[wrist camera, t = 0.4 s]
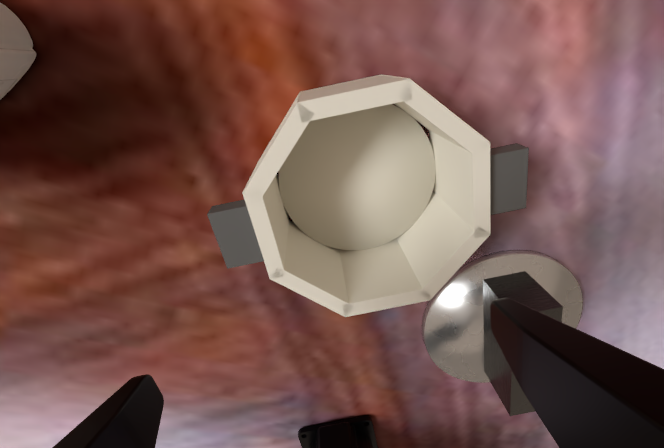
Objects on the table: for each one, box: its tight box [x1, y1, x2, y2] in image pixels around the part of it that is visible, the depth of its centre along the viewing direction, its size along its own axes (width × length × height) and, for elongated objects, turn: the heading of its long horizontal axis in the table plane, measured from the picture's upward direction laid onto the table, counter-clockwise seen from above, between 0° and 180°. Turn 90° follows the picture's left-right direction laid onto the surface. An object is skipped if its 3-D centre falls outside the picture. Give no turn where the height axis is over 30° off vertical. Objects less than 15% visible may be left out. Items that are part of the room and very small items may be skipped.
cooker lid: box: [422, 250, 583, 416], centre depth 25 cm, size 12×12×5 cm
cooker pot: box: [207, 74, 529, 317], centre depth 19 cm, size 11×15×6 cm
